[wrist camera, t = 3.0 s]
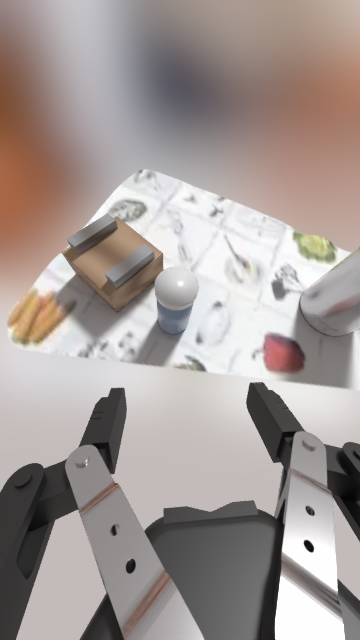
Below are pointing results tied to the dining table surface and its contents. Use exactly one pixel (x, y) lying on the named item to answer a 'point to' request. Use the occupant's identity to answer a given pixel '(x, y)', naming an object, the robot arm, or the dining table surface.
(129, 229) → the display plinth
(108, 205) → the dining table surface
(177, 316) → the ball-topped blue cylinder
